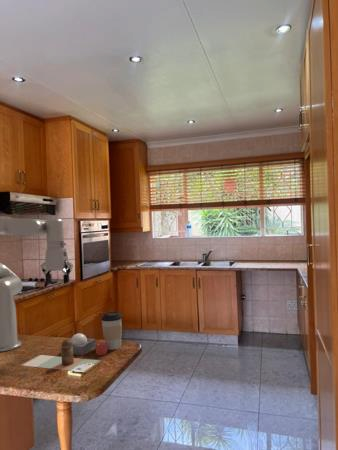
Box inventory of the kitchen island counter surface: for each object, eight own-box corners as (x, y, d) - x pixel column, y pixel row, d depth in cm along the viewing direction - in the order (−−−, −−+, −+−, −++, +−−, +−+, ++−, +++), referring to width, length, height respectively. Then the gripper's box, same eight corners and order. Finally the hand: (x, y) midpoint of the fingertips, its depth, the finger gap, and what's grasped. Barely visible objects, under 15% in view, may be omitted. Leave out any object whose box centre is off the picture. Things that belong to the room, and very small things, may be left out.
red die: (96, 355, 145) (95, 345, 145) (97, 351, 149) (97, 342, 149) (105, 354, 145) (105, 344, 145) (107, 351, 149) (106, 341, 149)
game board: (19, 366, 138) (19, 365, 138) (39, 356, 148) (39, 354, 148) (85, 373, 127) (85, 372, 127) (101, 362, 138) (101, 360, 138)
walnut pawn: (59, 365, 135) (58, 341, 135) (66, 360, 139) (65, 337, 139) (69, 366, 134) (67, 342, 134) (76, 361, 138) (74, 338, 138)
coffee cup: (114, 342, 161) (112, 309, 161) (127, 345, 155) (126, 311, 155) (98, 348, 154) (96, 313, 154) (112, 352, 148) (110, 316, 148)
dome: (67, 352, 149) (66, 335, 149) (77, 346, 156) (76, 330, 156) (81, 353, 147) (80, 336, 147) (90, 347, 153) (89, 331, 153)
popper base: (62, 354, 148) (61, 345, 148) (76, 346, 158) (75, 337, 158) (82, 356, 145) (82, 346, 145) (95, 348, 154) (95, 339, 154)
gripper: (76, 244, 162) (78, 281, 162) (45, 245, 168) (47, 281, 168) (66, 245, 155) (68, 284, 155) (34, 246, 161) (36, 284, 161)
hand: (57, 283), depth 162 cm, fingers open, 9 cm apart
